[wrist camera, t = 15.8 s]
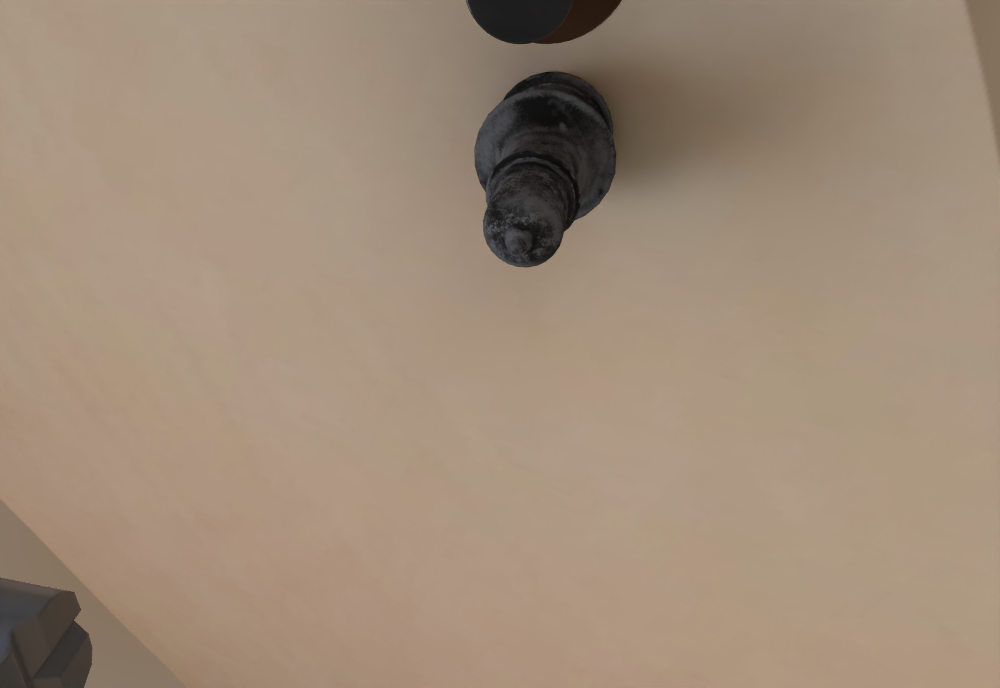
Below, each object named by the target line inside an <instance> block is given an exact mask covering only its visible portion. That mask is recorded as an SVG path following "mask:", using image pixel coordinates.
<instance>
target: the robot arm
mask: <svg viewBox="0 0 1000 688" xmlns="http://www.w3.org/2000/svg"><path fill="white" fill-rule="evenodd" d="M80 611H81V608H80V606H79V603H78V600H77V598H76V595H75V593H74V592H72V591H67V590H61V589H57V588H51V587H46V586H41V585H36V584H30V583H25V582H20V581H15V580H10V579H5V578H0V688H84V686H85V683H86V680H87V677H88V674H89V671H90V668H91V665H92V644H91V641H90V637H89V634H88V633H87V632H86V631H85V630H84V629H83V628H82V627H81V626H80V625H78V624H77V623H76V622H75V621H74V619H75V617H76V616H77V615H78V614H79V612H80Z"/></svg>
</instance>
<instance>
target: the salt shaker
mask: <svg viewBox="0 0 1000 688" xmlns="http://www.w3.org/2000/svg"><path fill="white" fill-rule="evenodd" d="M612 135H613V124H612V120H611V115H610V111H609V109H608V107H607V105H606V103H605V101H604V99H603V98H602V97H601V95H600V94H599V93H598V92H597V91H596V90H595V89H594V88H593V87H592V86H591V85H589V84H588V83H586V82H585V81H583V80H581V79H580V78H578V77H575V76H572V75H569V74H565V73H555V72H546V73H542V74H537V75H533V76H530V77H529V78H527V79H525V80H523V81H521V82H519V83H518V84H517V85H516V86H515V87H514V88H513V89H512V90H510V91H509V92H508V93H507V95H506V96H505V98H504V100H503V101H502V102H501V103H500V104H499V105H498V106H497V107H496V108H495V109H494V110H493V111H492V112H491V113H489V114H488V116H487V118H486V119H485V121H484V123H483V125H482V126H481V128H480V130H479V132H478V136H477V140H476V144H475V168H476V171H477V174H478V178H479V181H480V184H481V185H482V187H483V189H484V190H485V192H486V202H487V205H488V207H487V209H486V212H485V216H484V220H483V231H484V236H485V239H486V243H487V245H488V246H489V248H490V249H491V251H492V252H493V253H494V254H495V255H496V256H497V257H498V258H499V259H501V260H503V261H504V262H506V263H508V264H511V265H514V266H517V267H532V266H537V265H539V264H542V263H544V262H546V261H547V260H548V259H549V258H551V257H552V256H553V255H554V253H555V252H556V251H557V249H558V248H559V246H560V243H561V240H562V237H563V233H564V231H566V230H567V229H568V228H569V227H570V226H571V225H572V223H573V222H574V220H576V219H578V218H581V217H583V216H585V215H586V214H587V213H589V212H590V211H591V210H592V209H594V208H595V207H596V206H597V205H598V204H599V203H600V202H601V200H602V199H603V198H604V196H605V195H606V193H607V192H608V190H609V188H610V186H611V183H612V180H613V177H614V174H615V166H616V150H615V146H614V141H613V136H612Z"/></svg>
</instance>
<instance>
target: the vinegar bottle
mask: <svg viewBox="0 0 1000 688" xmlns="http://www.w3.org/2000/svg"><path fill="white" fill-rule="evenodd" d="M621 1H622V0H466V3H467V5H468V8H469V10H470V12H471V14H472V16H473V18H474V19H475V20H476V22H477V23H478V24H479V25H480V26H481V28H482V29H483V30H485V31H486V32H487V33H488V34H490V35H491V36H493V37H495V38H497V39H499V40H501V41H504V42H507V43H513V44H528V43H540V44H552V43H561V42H565V41H570V40H573V39H575V38H578V37H581V36H583V35H585V34H587V33H588V32H590V31H592V30H593V29H595V28H596V27H598V26H599V25H600V24H602V23H603V22H604V21H605V20H606V19H607V18H608V17H609V16H610V15H611V14H612V13H613V12H614V10H615V9H616V8H617V7H618V6H619V4H620V2H621Z"/></svg>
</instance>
